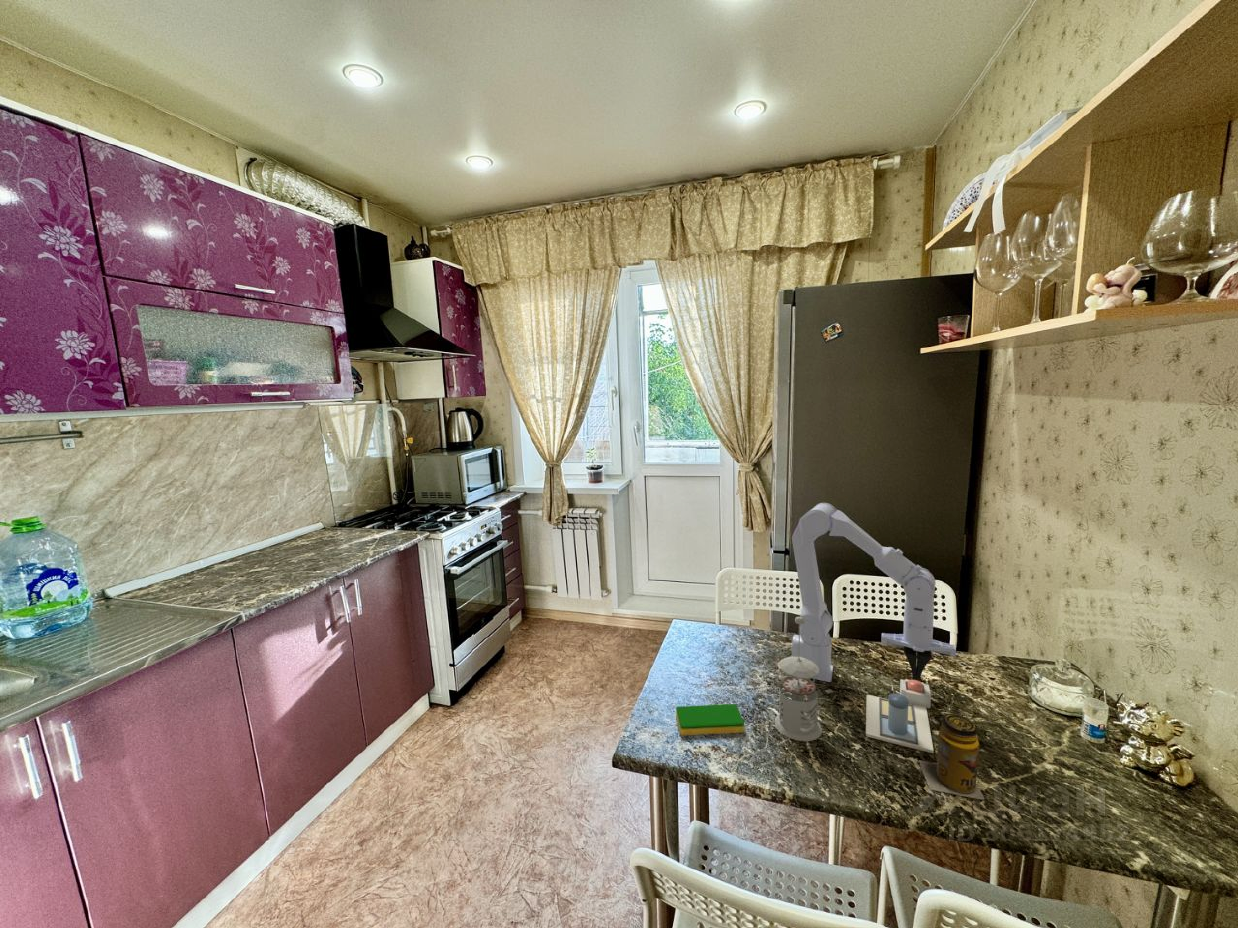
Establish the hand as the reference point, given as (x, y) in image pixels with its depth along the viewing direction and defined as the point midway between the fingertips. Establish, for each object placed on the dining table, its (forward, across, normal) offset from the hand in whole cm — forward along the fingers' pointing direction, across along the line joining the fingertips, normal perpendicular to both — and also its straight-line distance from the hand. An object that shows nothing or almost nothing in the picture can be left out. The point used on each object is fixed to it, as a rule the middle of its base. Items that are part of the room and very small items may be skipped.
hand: (915, 677), depth 113 cm
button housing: (+5, 0, 0) cm, 5 cm away
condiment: (+6, +4, -25) cm, 26 cm away
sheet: (+5, -4, -11) cm, 13 cm away
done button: (+5, 0, 0) cm, 5 cm away
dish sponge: (+6, -41, -28) cm, 50 cm away
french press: (+6, -23, -20) cm, 31 cm away
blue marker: (+5, -4, -14) cm, 16 cm away
